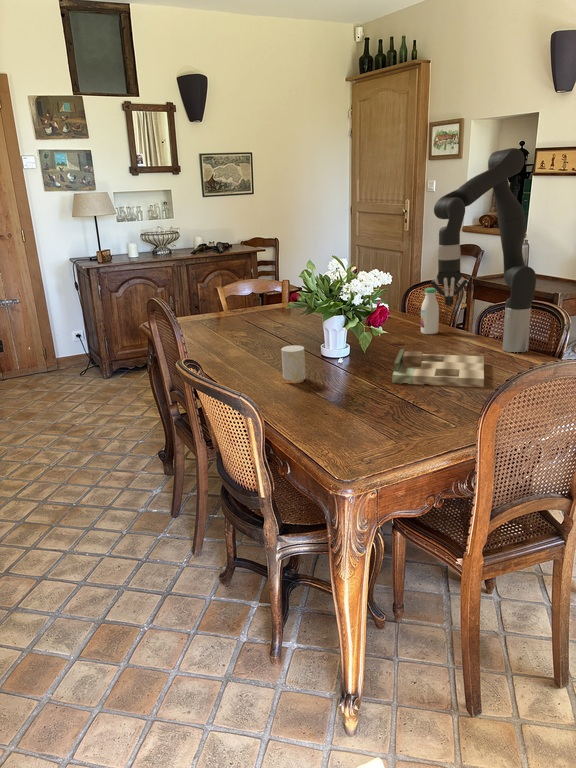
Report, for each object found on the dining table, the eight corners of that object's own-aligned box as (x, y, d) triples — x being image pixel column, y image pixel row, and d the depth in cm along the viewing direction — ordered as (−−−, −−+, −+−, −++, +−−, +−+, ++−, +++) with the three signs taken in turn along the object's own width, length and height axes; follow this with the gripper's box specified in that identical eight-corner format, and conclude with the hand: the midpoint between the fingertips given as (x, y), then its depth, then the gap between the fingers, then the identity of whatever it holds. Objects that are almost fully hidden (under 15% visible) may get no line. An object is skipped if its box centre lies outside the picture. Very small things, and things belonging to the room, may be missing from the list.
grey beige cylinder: (289, 385, 204) (287, 353, 200) (279, 379, 211) (277, 348, 207) (309, 381, 208) (308, 348, 204) (299, 375, 215) (297, 344, 211)
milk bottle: (440, 331, 263) (441, 287, 257) (434, 335, 257) (436, 290, 251) (424, 329, 267) (425, 286, 261) (418, 333, 261) (418, 289, 255)
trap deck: (483, 363, 215) (484, 348, 213) (483, 387, 192) (484, 370, 190) (401, 361, 224) (401, 346, 222) (392, 383, 201) (392, 366, 199)
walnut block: (421, 362, 212) (421, 351, 210) (420, 367, 206) (420, 356, 205) (404, 361, 213) (405, 351, 212) (403, 366, 208) (403, 355, 206)
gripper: (468, 254, 203) (468, 303, 209) (430, 256, 207) (430, 304, 213) (469, 258, 197) (468, 308, 202) (429, 260, 200) (429, 309, 206)
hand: (449, 306), depth 208 cm, fingers closed
